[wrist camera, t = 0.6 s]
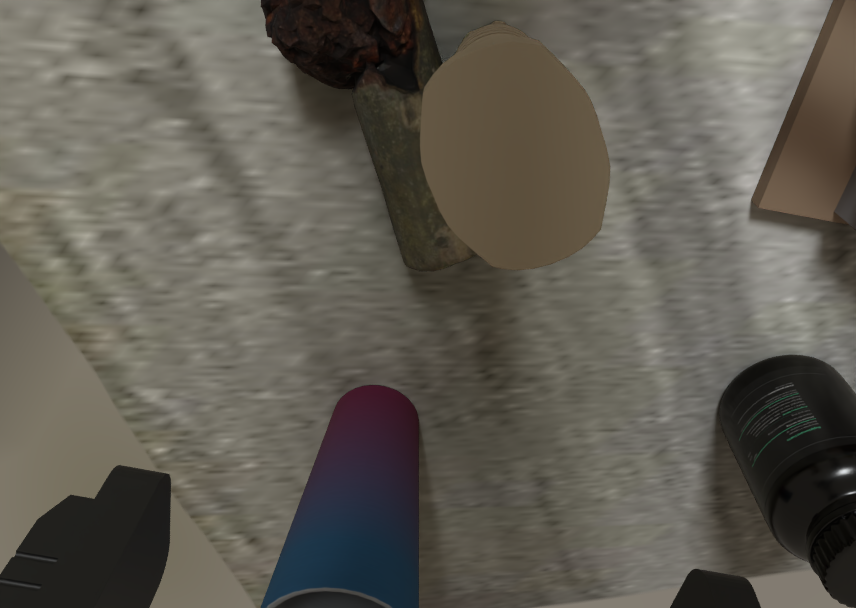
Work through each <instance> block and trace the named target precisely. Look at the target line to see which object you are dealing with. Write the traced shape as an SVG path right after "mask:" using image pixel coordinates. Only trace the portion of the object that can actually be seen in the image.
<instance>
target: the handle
mask: <svg viewBox="0 0 856 608" xmlns="http://www.w3.org/2000/svg"><path fill="white" fill-rule="evenodd" d="M420 153H421V163H422V167H423V170H424V173H425V177H426V180H427V182H428V184H429V187H430V189H431V191H432V194H433V196H434V198H435V201H436V203H437V206H438V208H439V210H440V212H441V214H442V216H443V218H444V219H445V221H446V223H447V225H448V226H449V227H450V228H451V230H452V231H453V232H454V233H455V234H456V235H457V236H458V237H459V238H460V239H461V240H462V241H463V242H464V243H465V244H466V245H468V246H469V247H470V248H471V249H472V250H473V251H474V252H475V253H477V254H478V255H479V256H480V257H481V258H483V259H484V260H485V261H486V262H487V263H489V264H490V265H491V266H492V267H497V268H501V269H509V270H525V269H534V268H538V267H542V266H546V265H549V264H553V263H555V262H557V261H560V260H562V259H565V258H567V257H569V256H570V255H572V254H574V253H575V252H577V251H579V250H580V249H582V248H583V247H584V246H585V245H586V244H588V243H589V242H590V241H591V240H592V239H593V238H594V237H595V236H596V234H597V233H598V232H599V231H600V230H601V226H602V221H603V216H604V211H605V206H606V201H607V195H608V189H609V181H610V163H609V158H608V152H607V148H606V145H605V141H604V138H603V135H602V131H601V128H600V125H599V121H598V118H597V115H596V112H595V110H594V107H593V104H592V102H591V100H590V98H589V96H588V94H587V93H586V91H585V89H584V88H583V87H582V86H581V85H580V83H579V82H578V81H577V80H576V79H575V77H574V76H573V75H572V74H571V73H570V72H569V71H568V70H567V68H566V67H565V66H564V65H563V64H562V63H561V62H560V61H559V60H558V59H557V58H556V57H555V56H554V55H553V54H552V53H551V52H550V51H549V50H548V49H547V48H546V47H545V46H544V45H543V44H542V43H541V42H540V41H538V40H535V39H530V38H529V37H528V36H527V35H526V34H524V33H523V32H522V31H520V30H518V29H516V28H514V27H511V26H509V25H506V23H505V22H502V21H494V22H492V24H491V25H486V26H483V27H480V28H479V29H477V30H475V31H470V32H469V33H468V34H467V35H466V36H465V37H464V39H463V42H462V43H461V44H460V46H459V47H458V49H457V51H456V53H455V55H453V56H452V57H451V58H449V59H448V60H447V61H445V62H444V63H443V64H442V65H441V66H440V67H439V68H438V69H437V71H436V72H435V73H434V74H433V75H432V77H431V78H430V80H429V81H428V83H427V84H426V86H425V87H424V91H423V98H422V112H421V130H420Z"/></svg>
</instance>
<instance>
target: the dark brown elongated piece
mask: <svg viewBox="0 0 856 608" xmlns="http://www.w3.org/2000/svg"><path fill="white" fill-rule="evenodd" d="M261 7H262V9H263V12H264V15H265V19H266V25H265V26H266V31H267V36H268V37H271V38H272V43H273V44H274V45H275V46H277V47H278V49H279V50H280V52H281V53H282V55H283V56H284V57H285V58H286V59H287V60H288V61H290V62H291V63H294V64H296V65H297V67H298V68H299V69H300V70H301V71H302V72H304V73H306V74H308V75H310V76H312V77H314V78H316V79H317V80H319V81H320V82H322V83H324V84H326V85H328V86H331V87H334V88H338V89H352V88H353V91H352V97H353V100H354V106H355V110H356V112H357V115H358V118H359V121H360V124H361V128H362V131H363V134H364V137H365V140H366V143H367V146H368V149H369V152H370V155H371V158H372V161H373V164H374V167H375V170H376V173H377V176H378V178H379V181H380V184H381V187H382V191H383V194H384V198H385V201H386V205H387V208H388V212H389V215H390V219H391V222H392V225H393V229H394V232H395V235H396V238H397V242H398V245H399V248H400V251H401V254H402V257H403V261H404V263H405V265H406V266H408V267H409V268H412V269H415V270H418V271H436V270H441V269H444V268H447V267H449V266H451V265H453V264H456V263H459V262H462V261H465V260H467V259H469V258H471V257H473V256H475V255H478V254H477V253H475V252H474V251H473V250H472V249H471V248H470V247H469V246H468V245H466V244H465V243H464V242H463V241H462V240H461V239H460V238H459V237H458V236H457V235H456V234H455V233H454V232H453V231H452V230H451V228H450V227H449V226H448V225H447V223H446V221H445V219H444V218H443V216H442V214H441V212H440V210H439V208H438V206H437V203H436V201H435V198H434V196H433V194H432V191H431V189H430V187H429V184H428V182H427V180H426V177H425V173H424V170H423V167H422V163H421V153H420V130H421V112H422V98H423V91H424V87H425V86H426V84H427V83H428V81H429V80H430V78H431V77H432V75H433V74H434V73H435V72H436V71H437V69H438V68H439V67H440V66H441V65H442V61H441V57H440V54H439V51H438V48H437V45H436V41H435V38H434V35H433V32H432V29H431V26H430V23H429V19H428V16H427V12H426V9H425V6H424V2H423V0H261Z"/></svg>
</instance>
